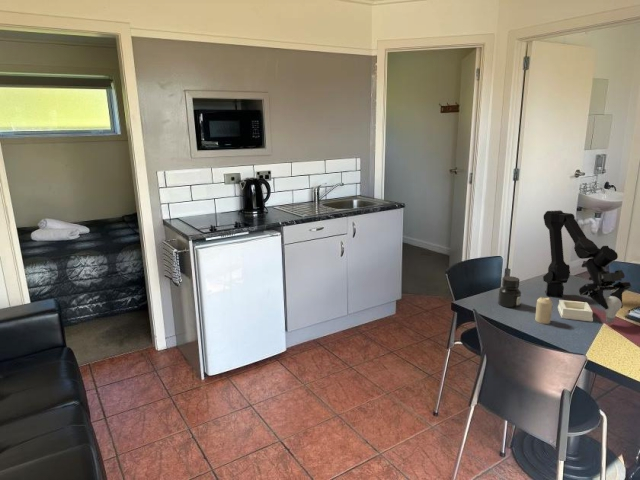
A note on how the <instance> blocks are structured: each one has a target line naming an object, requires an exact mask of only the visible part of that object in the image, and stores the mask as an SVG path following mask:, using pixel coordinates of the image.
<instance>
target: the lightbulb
mask: <svg viewBox="0 0 640 480" xmlns="http://www.w3.org/2000/svg"><path fill="white" fill-rule="evenodd" d="M604 298H605V300H606V303H607V305H608V309H605V308H604V310H605V321H606V323H608V324H612V323H614V320H615V318H616V315H617V312H619V311H620V310H621V309H622V308H623V307H622V305H623V302H622V303H621V301H620V299H619V298H617V297H615V296H610V295H609V296H606V297H604ZM621 307H622V308H621Z"/></svg>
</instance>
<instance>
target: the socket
mask: <svg viewBox="0 0 640 480" xmlns="http://www.w3.org/2000/svg"><path fill="white" fill-rule="evenodd" d="M558 301H559V302H558V305H557V310H558V313H559V315H560V318H561V319H567V320H573V321H585V322H593V320H594V318H593V314H594V312H593V310H592V308H591V306H590V305H589V303H588V302H586V301H585V302H583V301H575V300H564V299H559V300H558Z"/></svg>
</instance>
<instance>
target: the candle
mask: <svg viewBox="0 0 640 480" xmlns="http://www.w3.org/2000/svg"><path fill="white" fill-rule="evenodd" d="M552 311H553V301H552V300H551V298H550V297H544V296H540V297H539V298H538V299H537V300H536V308H535V316H534V317H535V318H534V320H535V322H537V323H539V324H545V325H547V324H550V323H551V321H552V320H551V319H552Z"/></svg>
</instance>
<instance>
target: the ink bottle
mask: <svg viewBox="0 0 640 480" xmlns="http://www.w3.org/2000/svg"><path fill="white" fill-rule="evenodd" d="M501 282H502V283H501V287H500V288H499V289H498V298H497V303H498V304H499V305H500V306H501V307H504V308H510V309H511V308H519V307H520V305H521V297H522V295H521V294H522V292H521V290H520V289H519V287H520V278H519V277H516V276H511V275H509V276H508V275H506V276H503V277H502V280H501Z"/></svg>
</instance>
